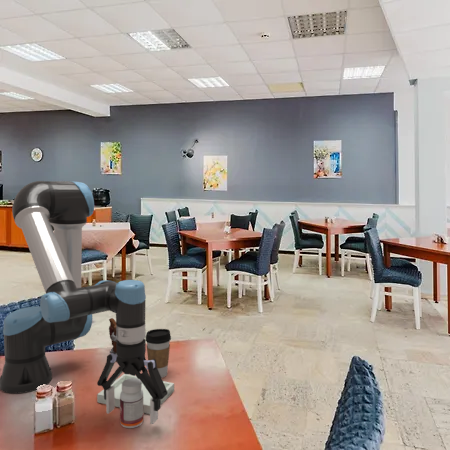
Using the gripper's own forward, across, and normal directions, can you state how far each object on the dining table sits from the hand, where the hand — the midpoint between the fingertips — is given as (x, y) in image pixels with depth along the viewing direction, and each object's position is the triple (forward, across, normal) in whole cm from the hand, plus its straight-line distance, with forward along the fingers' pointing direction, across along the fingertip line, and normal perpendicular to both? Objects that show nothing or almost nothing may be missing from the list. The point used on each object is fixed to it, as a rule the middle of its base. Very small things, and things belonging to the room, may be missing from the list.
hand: (131, 416), depth 108 cm
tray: (+2, -6, +12) cm, 14 cm away
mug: (+2, -27, +36) cm, 45 cm away
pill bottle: (+2, 0, 0) cm, 2 cm away
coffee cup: (+2, -7, +27) cm, 28 cm away
